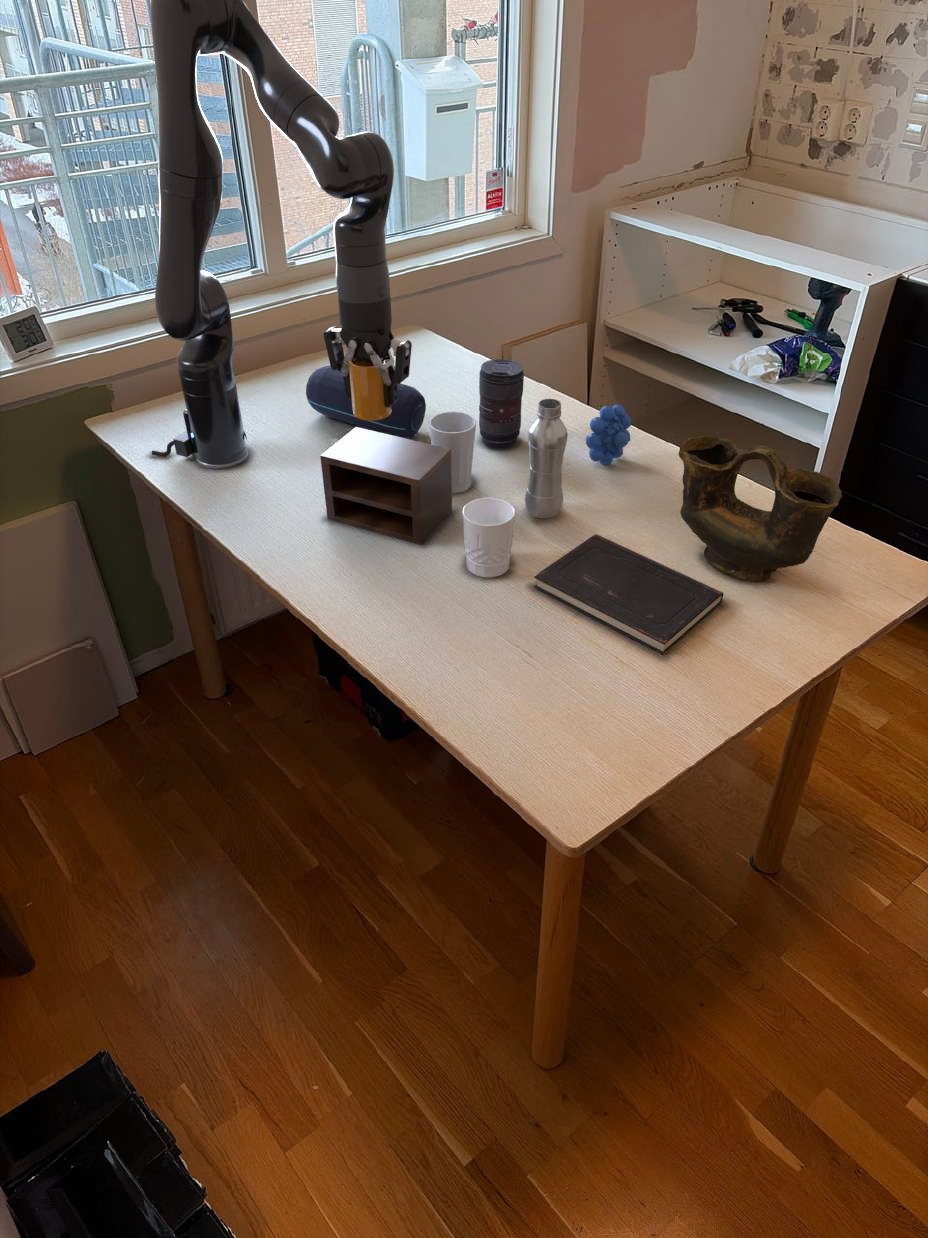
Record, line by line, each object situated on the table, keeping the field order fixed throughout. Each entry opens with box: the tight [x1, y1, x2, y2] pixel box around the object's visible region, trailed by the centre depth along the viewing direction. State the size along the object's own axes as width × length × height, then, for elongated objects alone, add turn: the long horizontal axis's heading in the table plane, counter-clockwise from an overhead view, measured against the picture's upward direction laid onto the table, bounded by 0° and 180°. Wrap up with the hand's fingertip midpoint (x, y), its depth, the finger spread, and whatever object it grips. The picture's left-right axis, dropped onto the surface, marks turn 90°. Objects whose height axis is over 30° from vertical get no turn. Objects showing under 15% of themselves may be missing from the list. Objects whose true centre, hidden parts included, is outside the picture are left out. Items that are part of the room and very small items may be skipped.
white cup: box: [462, 497, 516, 578], centre depth 141 cm, size 8×8×10 cm
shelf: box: [319, 426, 453, 546], centre depth 152 cm, size 18×11×12 cm, turn 64°
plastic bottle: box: [524, 398, 569, 519], centre depth 150 cm, size 6×7×20 cm
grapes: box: [585, 403, 632, 466], centre depth 165 cm, size 12×7×12 cm, turn 133°
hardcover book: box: [533, 533, 725, 656], centre depth 138 cm, size 16×23×2 cm
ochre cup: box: [348, 358, 392, 421], centre depth 140 cm, size 6×6×8 cm
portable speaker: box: [305, 365, 427, 439], centre depth 178 cm, size 25×10×10 cm, turn 58°
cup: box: [428, 411, 477, 494], centre depth 160 cm, size 8×8×12 cm
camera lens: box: [478, 358, 525, 450], centre depth 171 cm, size 8×8×15 cm
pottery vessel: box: [678, 434, 843, 582], centre depth 139 cm, size 25×11×20 cm, turn 49°
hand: (371, 400), depth 141 cm, fingers closed on ochre cup, 6 cm apart
